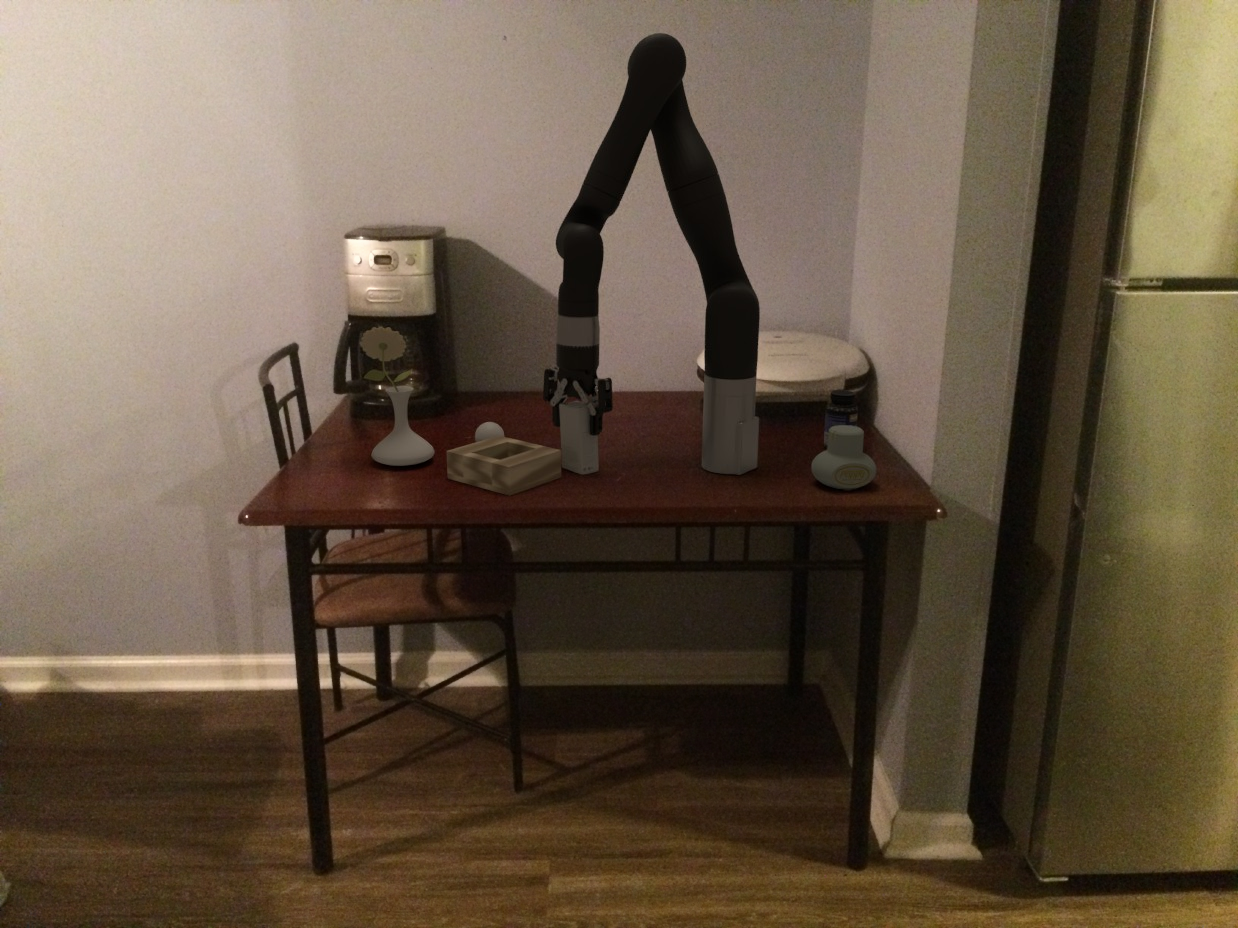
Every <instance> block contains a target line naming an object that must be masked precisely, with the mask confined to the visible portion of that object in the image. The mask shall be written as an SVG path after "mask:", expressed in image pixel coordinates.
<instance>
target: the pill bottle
mask: <svg viewBox="0 0 1238 928" xmlns="http://www.w3.org/2000/svg"><path fill="white" fill-rule="evenodd" d="M856 394H857V393H856V392H854V391H851V390H847V389H846V390H844V389H842V390H841V389H839V390H832V391H830V401H831V402H830V403H828V404H827V405H826V407H825V417H824V418H825V419H824V430H823V431H824V433H823V447H824V448H826V449H827V447H828V435H829V429H830V428H831V427H833V426H838V425H849V426H855V427H858V418H859V416H858V415H859V414H858V413H859V408H858V406H857V405H856V404H855V403H854V402H855V400H856V397H857V396H856Z"/></svg>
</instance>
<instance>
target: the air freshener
mask: <svg viewBox="0 0 1238 928" xmlns="http://www.w3.org/2000/svg"><path fill="white" fill-rule="evenodd" d="M864 437H865V431H864V430H863V429H862V428H861V427H859V426H857V427H855V426H849V425H838V426H833V427H831V428H830V429H829V435H828V447H827V448H826V450H823V451H821V452H820V453H819V454H817V455H816V456H815V457H814V458H813V460H812V462H811V465H810V466H811V473H812V475H813V476H814V478H815V479H816V480H817V481H818V482H820V483H821V484H823V485H825V486H826V487H828V488H829V487H830V488H832V489H836V490H839V489H844V490H843V491H852V490H851V489H854V490H857V489H859V488H862V487H863V486H867V485H868V484H870V482H872V481H873V479H875V476H876V474H877V465H876V463H875V462H874V460H873V459H872V457H870V456H869V455H868V454H866V453H864V452H863V451H864Z"/></svg>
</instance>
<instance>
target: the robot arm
mask: <svg viewBox="0 0 1238 928" xmlns="http://www.w3.org/2000/svg"><path fill="white" fill-rule="evenodd" d="M686 69H687V56H686V52H685V49H684V47H683V46H682V44H681V43H680V41H679V40H678V39H677V38H676V37H674V36H673V35H671V34H668V33H665V32H664V33H662V32H657V33H653V34H649V35H647V36H645V37H643V38H642V39H640V41H639V42H638V43H637V44H636V45H635V47H634V48H633V50H632V52H631V53H630V55H629V58H628V61H627V76H628V77H627V80H626V81H627V83H626V85H625V89H624V91H623V95H622V99H621V101H620V104H619V106H618V109H617V111H616V114H615V115H614V118H613V120H612V122H611V124H610V126H609V127H608V130H607V132H606V134H605V135H604V138H603V139H602V141H601V143H600V145H599V147H598V149H597V151H596V153H595V155H594V157H593V159H592V162H591V164H590V166H589V167H588V171H587V172H586V174H585V175H586V176H585V178H584V180H583V182H582V185H581V187H580V190H579V192H578V195H577V197H576V199H575V200H574V202H573V203H572V205H571V207H570V208H569V210H568V212H567V213H566V215H565V216H564V218H563V220H562V223H560V226H559V228H558V231H557V234H556V236H555V237H556V238H555V248H556V251H557V253H558V255H559V257H560V258H561V259H562V260H563V261H562V262H563V263H562V265H563V266H562V267H563V268H562V281H561V283H560V284H559V286H558V295H557V321H556V331H555V332H556V338H555V339H556V347H555V348H556V350H555V351H556V354H555V357H556V361H555V363H556V367H551V368H550V367H549V368H546V369H544V371H543V373H544V374H543V389H542V390H543V392H542V398H543V401H544V402H548V403H549V404H550V406H551V407H552V408H551V409H552V410H551V411H552V413H551V414H552V416H551V418H552V423H553V427H555V428H560V410H559V405H560V404H562V403H566V401H567V399H568V398H575V399H576V400H581V402H583V403H584V404H585V405H587V407H588V409H589V411H590V413H591V414H592V415H590V435H593V436H595V435H598V436H599V435H601V432H602V431H603V424H604V423H603V422H604V421H603V418H604V414H605V413H609V412H613V379H612V378H611V377H605V378H600V377H598V373H597V372H598V369H599V366H600V343H601V342H600V341H601V340H600V339H601V338H600V336H601V335H600V334H601V332H600V331H601V330H600V328H601V327H600V315H599V314H600V313H599V311H600V310H599V308H600V307H599V306H600V301H599V300H600V297H599V296H600V295H599V294H600V292H599V288H600V287H599V286H600V282H601V277H602V270H603V266H604V257H605V256H604V255H605V253H604V252H605V250H604V241H603V238H602V236H601V233H602V231H603V229H604V227H605V225H606V223H607V220H608V219H609V218H611V217H612V216H613V215H614V214H615V213H616V211H617V210H618V208H619V206H620V204H621V201H622V199H623V197H624V195H625V192H626V190H627V188H628V186H629V183H630V181H631V178H632V176H633V174H634V172H635V168H636V166H637V164H638V161H639V158H640V156H641V153H642V151H643V148H644V146H645V143H646V141H647V138H648V136H649V134H650V132H651V134H652V139H653V142H654V148H655V150H656V151H655V152H656V156H657V161H658V163H659V164H658V165H659V168H660V170H661V171H660V172H661V176H662V180H663V183H664V185H665V186H664V187H665V189H666V192H667V196H668V199H669V202H670V205H671V207H672V211H673V214H674V216H675V219H676V222H677V223H678V226H679V229H680V231H681V233H682V235H683V238H685V241H686V242H687V244H688V246H689V248H690V250H691V253H692V254H693V256H694V258H695V260H696V264H697V265H698V269H699V272H700V276H701V280H702V284H703V290H704V295H705V300H706V307H705V314H704V315H705V318H704V320H705V321H704V322H705V324H704V354H703V356H704V358H703V359H704V375H703V376H704V378H703V379H704V381H703V406H702V407H703V410H702V411H703V412H702V439H701V440H702V441H701V442H702V443H701V468H702V469H703V470H705V471H708V472H711V473H716V474H721V475H723V474H724V475H738V476H741V475H743V474H745V473H747V472H750V471H752V470H755V469H756V468H757V467H758V457H759V454H758V453H759V428H760V418H759V416H756V398H757V397H756V396H757V394H756V393H757V374H758V372H757V371H758V361H759V359H758V358H759V340H760V339H759V335H760V319H761V318H760V313H761V311H760V310H761V308H760V302H759V298H758V296H757V293H756V291H755V289H754V288H753V285H752V284H751V281H750V279H749V276H748V275H747V273H746V269H745V267H744V265H743V262H742V260H741V257H740V254H739V252H738V248H737V243H736V239H735V233H734V229H733V223H732V217H731V214H730V209H729V204H728V201H727V197H726V196H727V195H726V192H725V190H724V186H723V184H722V183H723V182H722V181H721V176H720V174H719V171H718V168H717V165H716V163H715V160H714V158H713V156H712V154H711V152H710V149H709V148H708V146H707V144H706V142H705V141H704V139H703V137H702V135H701V133H700V132H699V130H698V128H697V126H696V124H695V122H694V120H693V119H694V118H693V117H692V113H691V111H690V110H691V109H690V107H689V103H688V100H687V96H686V92H685V91H686V90H685V86H684V82H683V81H684V80H683V78H685V74H686ZM558 382H559V384H558ZM590 396H591V397H590ZM595 406H596V407H595Z"/></svg>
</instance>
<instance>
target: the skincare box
mask: <svg viewBox="0 0 1238 928" xmlns="http://www.w3.org/2000/svg"><path fill="white" fill-rule="evenodd" d="M595 407H596V406H595ZM559 410H560V427H559V428H560V447H561V449H560V450H561V468H563V469H565V470H568V471H571V472H573V473H576V474H579V475H588V474H592V473H596V472H599V469H600V468H599V465H600V464H599V443H598V441H599V440H598V437H599V435H595V436H593V435H590V415H592V414H591V413H590V411H589V409H588V407H587V405H585V404H584V403H583V401H579V400H573V401H569V402H564V403H562V404H560V405H559Z"/></svg>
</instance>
